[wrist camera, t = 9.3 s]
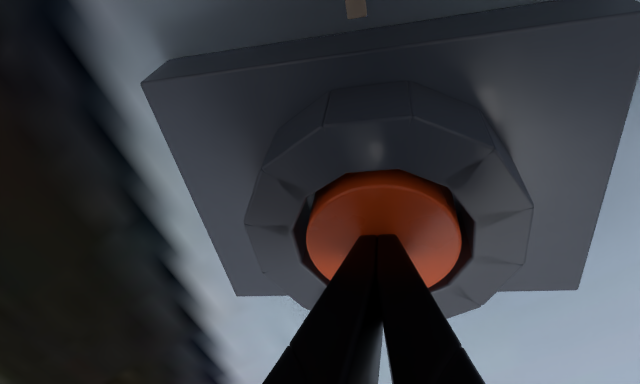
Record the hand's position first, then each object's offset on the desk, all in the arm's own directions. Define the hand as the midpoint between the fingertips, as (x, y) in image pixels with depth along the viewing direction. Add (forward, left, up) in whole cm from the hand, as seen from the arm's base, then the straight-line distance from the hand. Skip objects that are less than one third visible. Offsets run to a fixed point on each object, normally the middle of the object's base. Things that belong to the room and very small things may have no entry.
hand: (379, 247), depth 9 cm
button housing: (0, 0, -4) cm, 4 cm away
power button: (0, 0, -2) cm, 2 cm away
